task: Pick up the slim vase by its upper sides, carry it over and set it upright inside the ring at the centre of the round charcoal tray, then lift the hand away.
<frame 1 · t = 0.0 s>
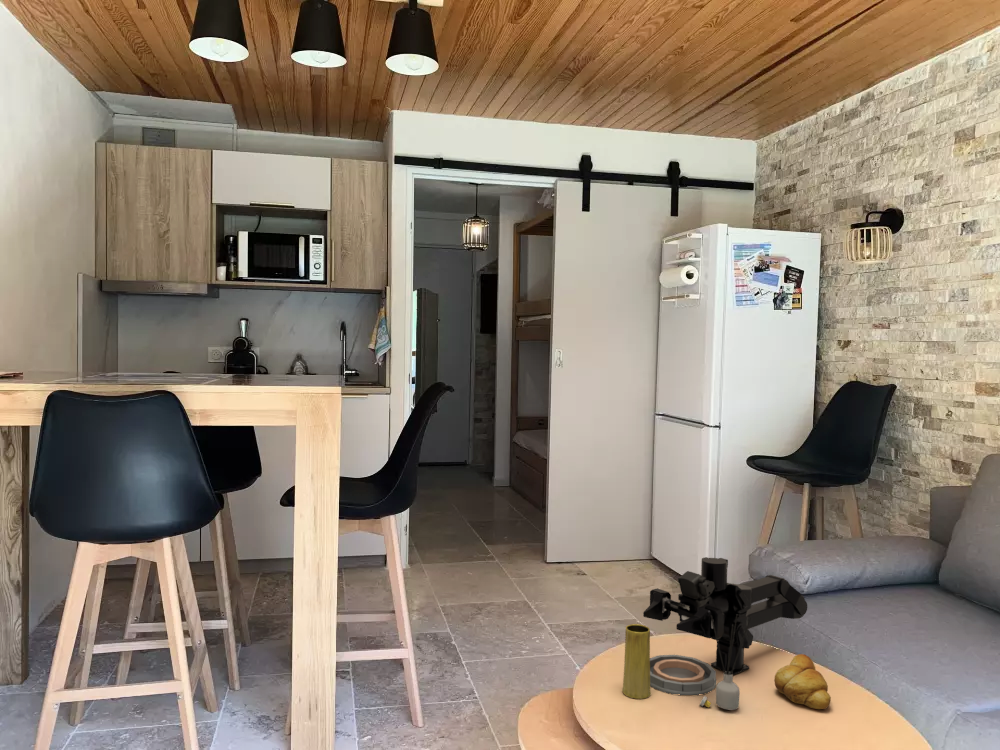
hand: (660, 620, 159), 17 cm above the table, tool horizontal, fingers open, 9 cm apart
grooved tray: (678, 679, 169), on the table
reed diffuser: (725, 711, 154), on the table
bread roll: (802, 700, 160), on the table
vase: (636, 693, 161), on the table
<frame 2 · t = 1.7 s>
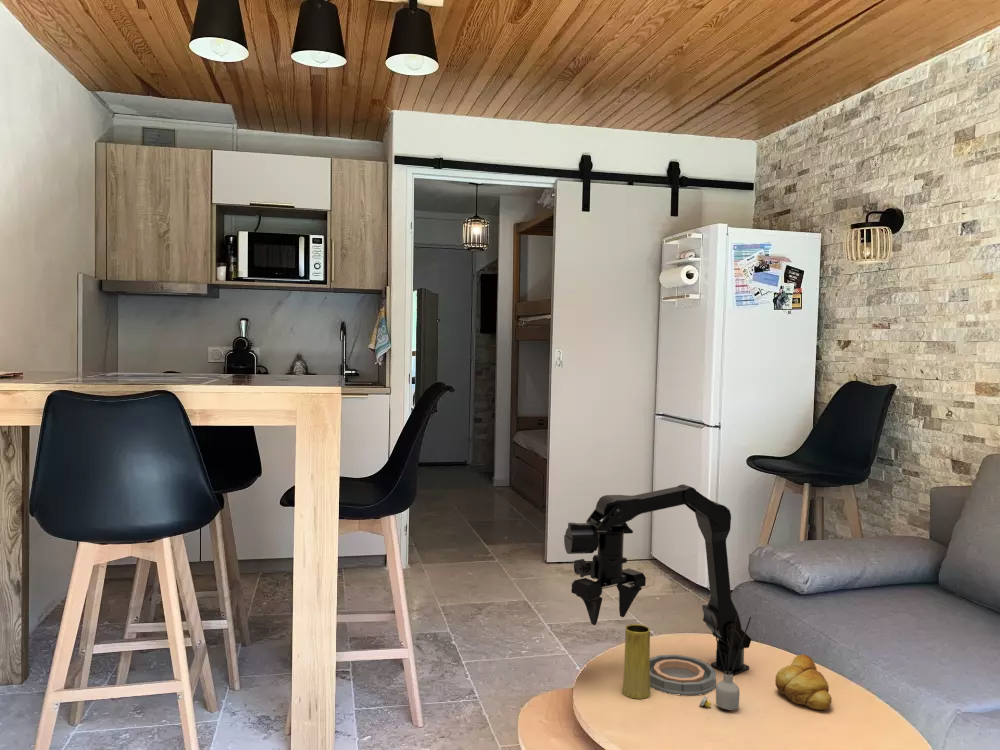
hand: (608, 620, 168), 13 cm above the table, tool pointing down, fingers open, 9 cm apart
nothing on the table moved.
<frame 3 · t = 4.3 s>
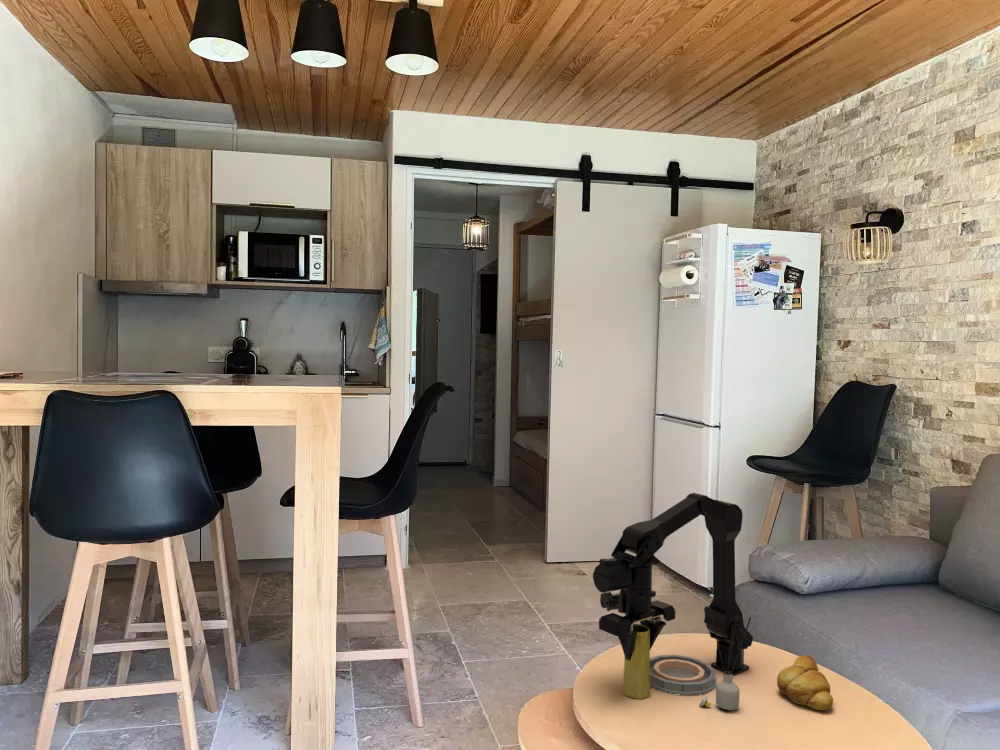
hand: (637, 656, 161), 8 cm above the table, tool pointing down, fingers closed on vase, 5 cm apart
vase: (636, 693, 162), on the table, touching gripper
everything else where it was.
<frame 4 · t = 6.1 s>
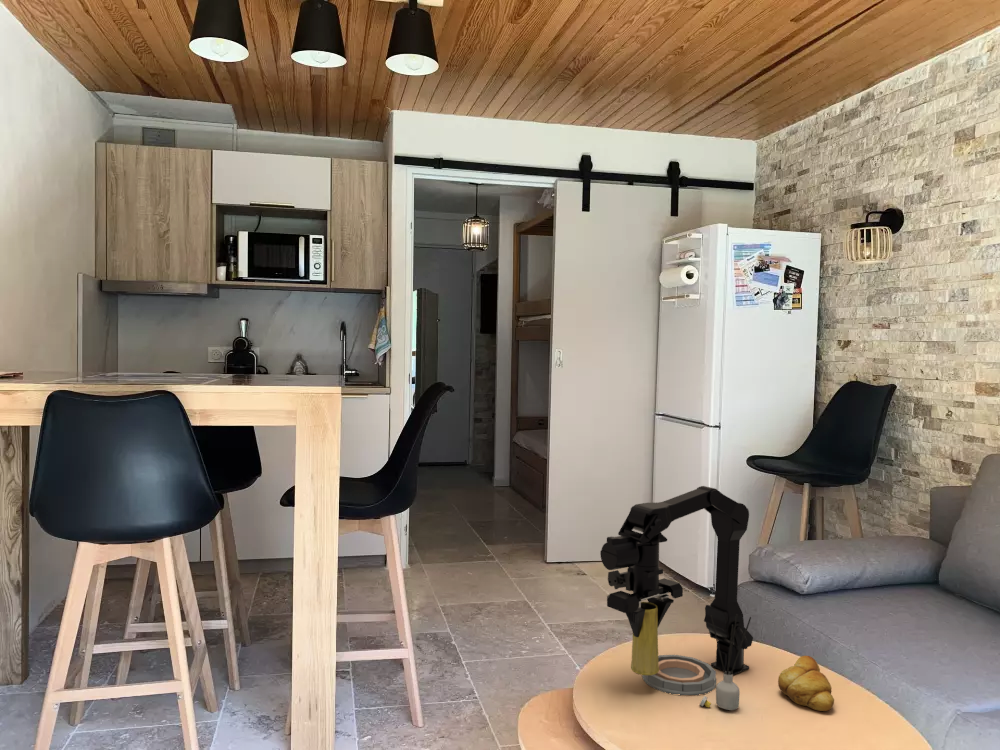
hand: (645, 633, 162), 13 cm above the table, tool pointing down, fingers closed on vase, 5 cm apart
vase: (644, 670, 163), point 4 cm above the table, touching gripper
everything else where it was.
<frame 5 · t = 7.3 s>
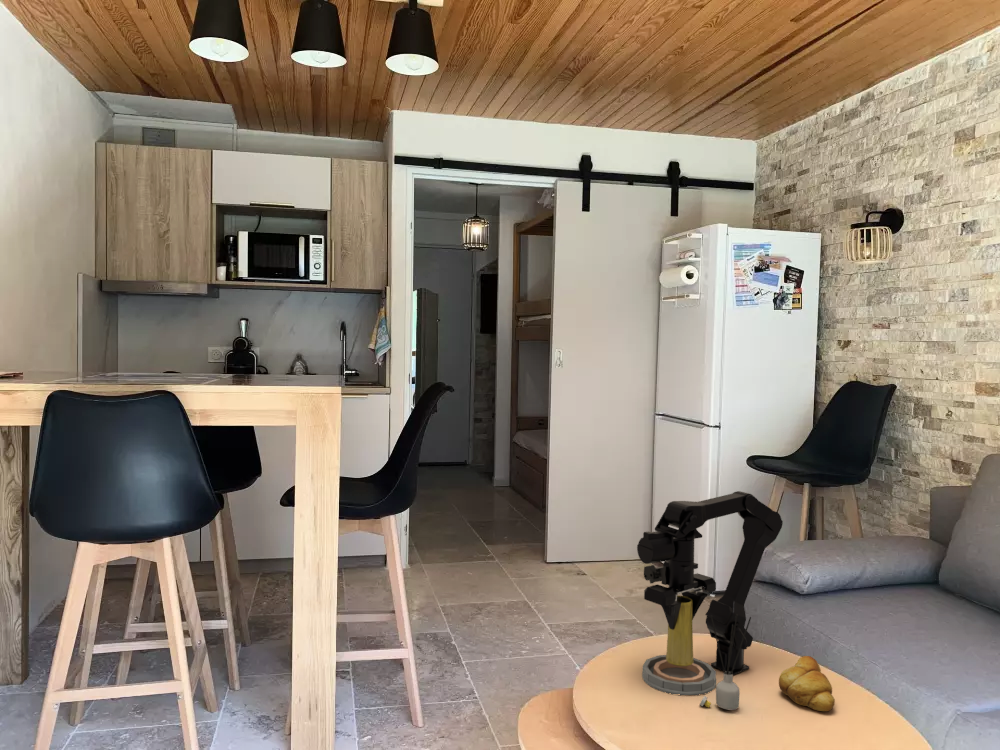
hand: (680, 626, 168), 12 cm above the table, tool pointing down, fingers closed on vase, 5 cm apart
vase: (679, 662, 169), point 4 cm above the table, touching gripper
when the fingers open (10 cm above the table, at t = 8.2 s): vase stays where it is, resting on grooved tray.
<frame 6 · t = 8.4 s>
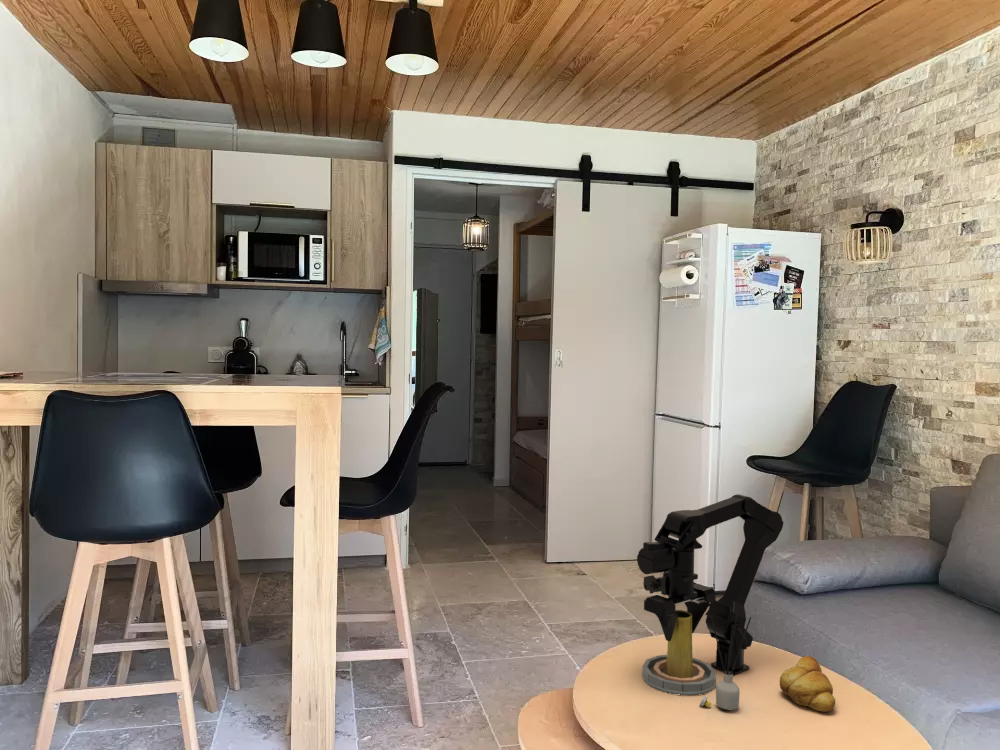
hand: (679, 636, 168), 10 cm above the table, tool pointing down, fingers open, 8 cm apart
vase: (679, 676, 169), point 1 cm above the table, touching grooved tray
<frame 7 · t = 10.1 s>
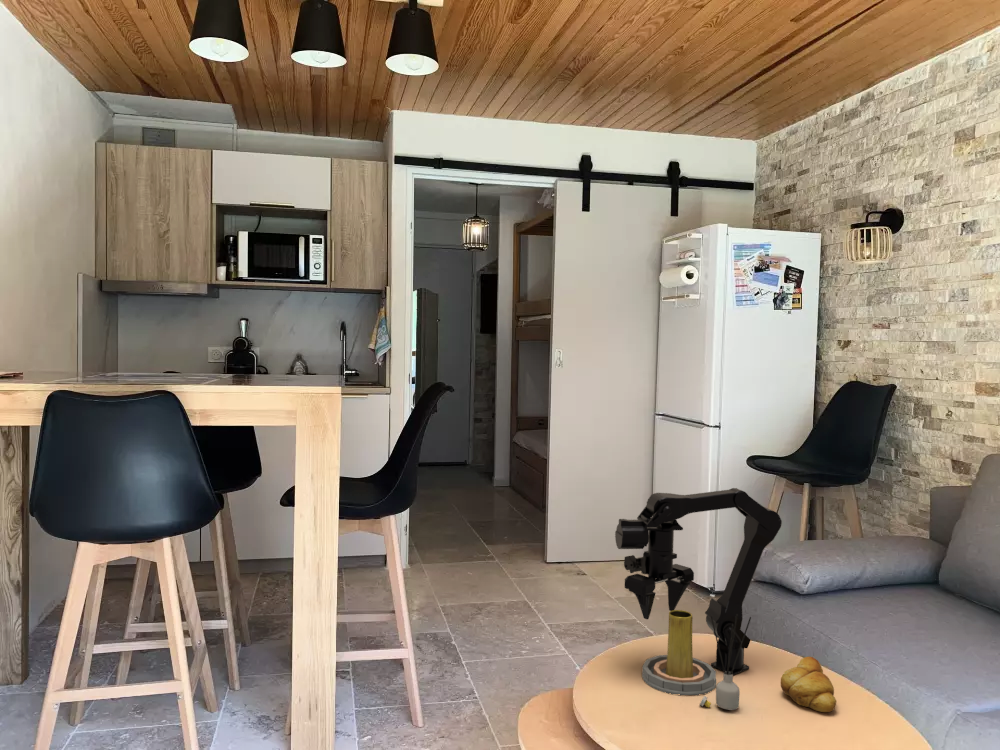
hand: (658, 614, 173), 13 cm above the table, tool pointing down, fingers open, 9 cm apart
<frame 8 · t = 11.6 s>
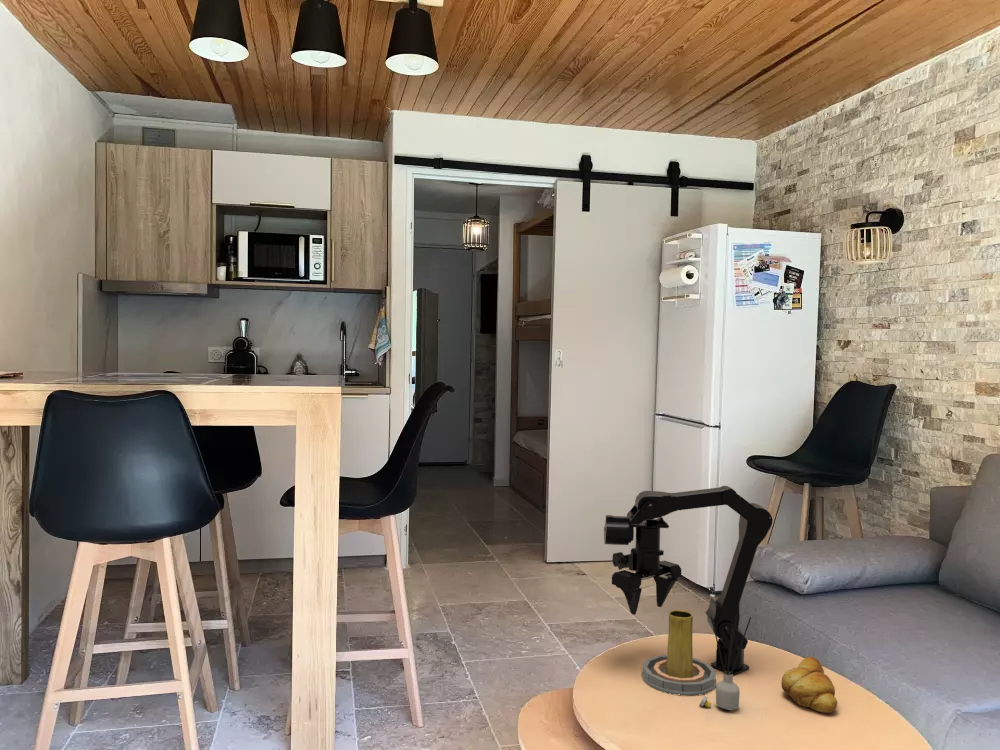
hand: (646, 610, 176), 13 cm above the table, tool pointing down, fingers open, 9 cm apart
at the end: vase 0.1 cm from the grooved tray (horizontally); vase tilted 0°; the gripper is holding nothing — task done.
